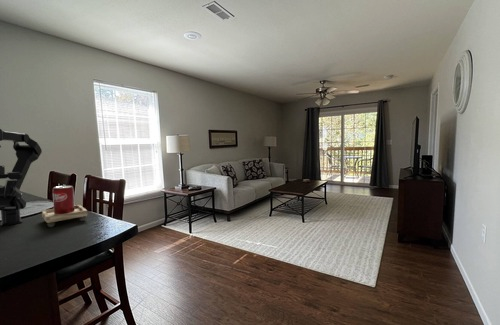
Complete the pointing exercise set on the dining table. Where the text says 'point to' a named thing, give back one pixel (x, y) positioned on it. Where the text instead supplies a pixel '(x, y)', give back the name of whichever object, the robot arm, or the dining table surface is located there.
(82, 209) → the dolly
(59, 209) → the soda can
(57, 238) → the dining table surface
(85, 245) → the dining table surface
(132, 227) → the dining table surface
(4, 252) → the dining table surface
